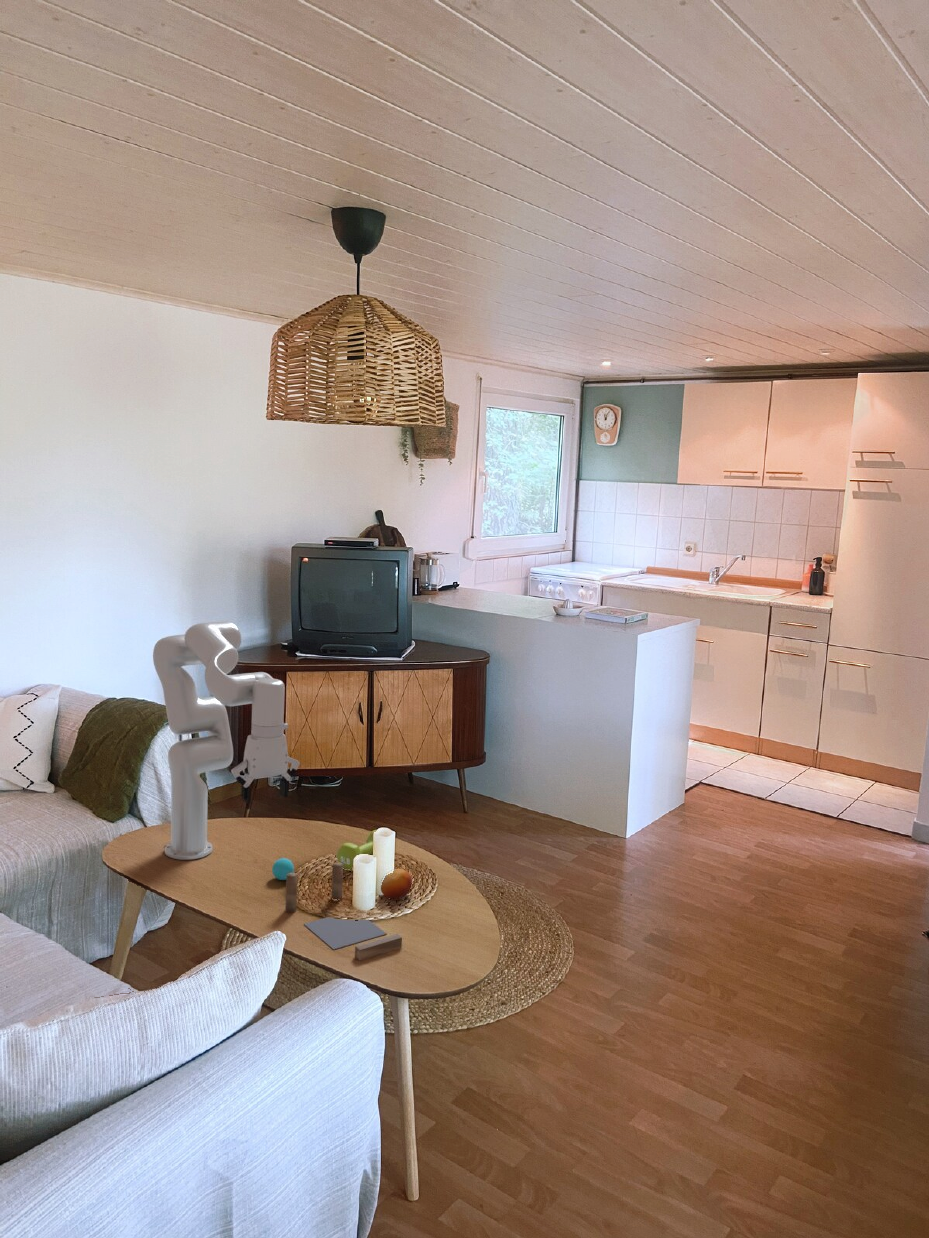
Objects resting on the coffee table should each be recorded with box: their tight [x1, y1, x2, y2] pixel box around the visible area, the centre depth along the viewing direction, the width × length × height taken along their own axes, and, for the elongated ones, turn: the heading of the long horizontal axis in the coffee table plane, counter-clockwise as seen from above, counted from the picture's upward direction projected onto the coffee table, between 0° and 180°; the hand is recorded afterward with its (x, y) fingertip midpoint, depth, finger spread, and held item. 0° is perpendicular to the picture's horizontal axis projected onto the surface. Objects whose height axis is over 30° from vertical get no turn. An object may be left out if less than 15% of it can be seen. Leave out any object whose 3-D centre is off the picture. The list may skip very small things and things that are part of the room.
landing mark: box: [303, 916, 387, 950], centre depth 216 cm, size 14×14×1 cm
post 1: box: [284, 872, 299, 914], centre depth 223 cm, size 3×3×9 cm
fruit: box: [380, 868, 413, 901], centre depth 234 cm, size 8×8×8 cm
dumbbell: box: [336, 829, 378, 873], centre depth 254 cm, size 16×8×7 cm, turn 146°
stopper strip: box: [354, 933, 403, 962], centre depth 206 cm, size 2×11×2 cm, turn 127°
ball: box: [272, 857, 295, 881], centre depth 240 cm, size 6×6×6 cm
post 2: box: [330, 861, 344, 900], centre depth 230 cm, size 3×3×9 cm
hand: (265, 798), depth 225 cm, fingers open, 9 cm apart
